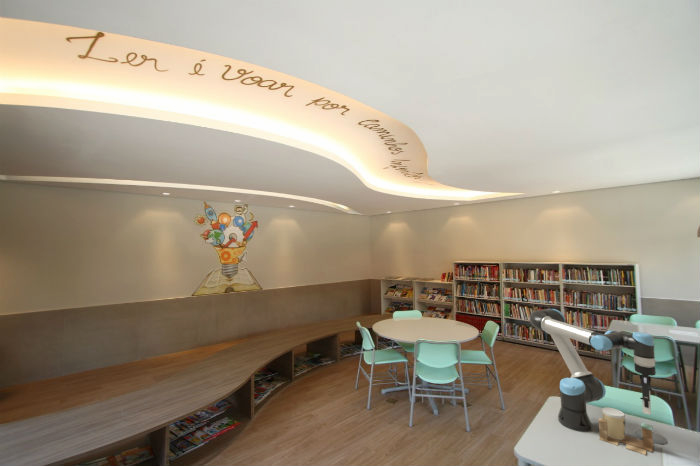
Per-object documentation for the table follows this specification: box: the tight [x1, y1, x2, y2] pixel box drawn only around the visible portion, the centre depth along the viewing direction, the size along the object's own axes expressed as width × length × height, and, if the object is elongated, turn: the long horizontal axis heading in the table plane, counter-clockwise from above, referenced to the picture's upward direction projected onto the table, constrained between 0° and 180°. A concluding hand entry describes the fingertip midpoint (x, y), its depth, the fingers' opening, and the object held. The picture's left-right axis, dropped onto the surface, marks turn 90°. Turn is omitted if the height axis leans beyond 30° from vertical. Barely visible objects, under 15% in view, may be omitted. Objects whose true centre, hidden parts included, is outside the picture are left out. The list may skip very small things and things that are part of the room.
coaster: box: [634, 428, 668, 445], centre depth 157 cm, size 12×12×1 cm
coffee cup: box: [601, 406, 626, 440], centre depth 158 cm, size 9×9×12 cm
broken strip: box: [598, 417, 647, 456], centre depth 150 cm, size 17×4×10 cm, turn 44°
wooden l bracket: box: [608, 422, 654, 453], centre depth 154 cm, size 19×8×10 cm, turn 44°
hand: (647, 408), depth 150 cm, fingers open, 13 cm apart
